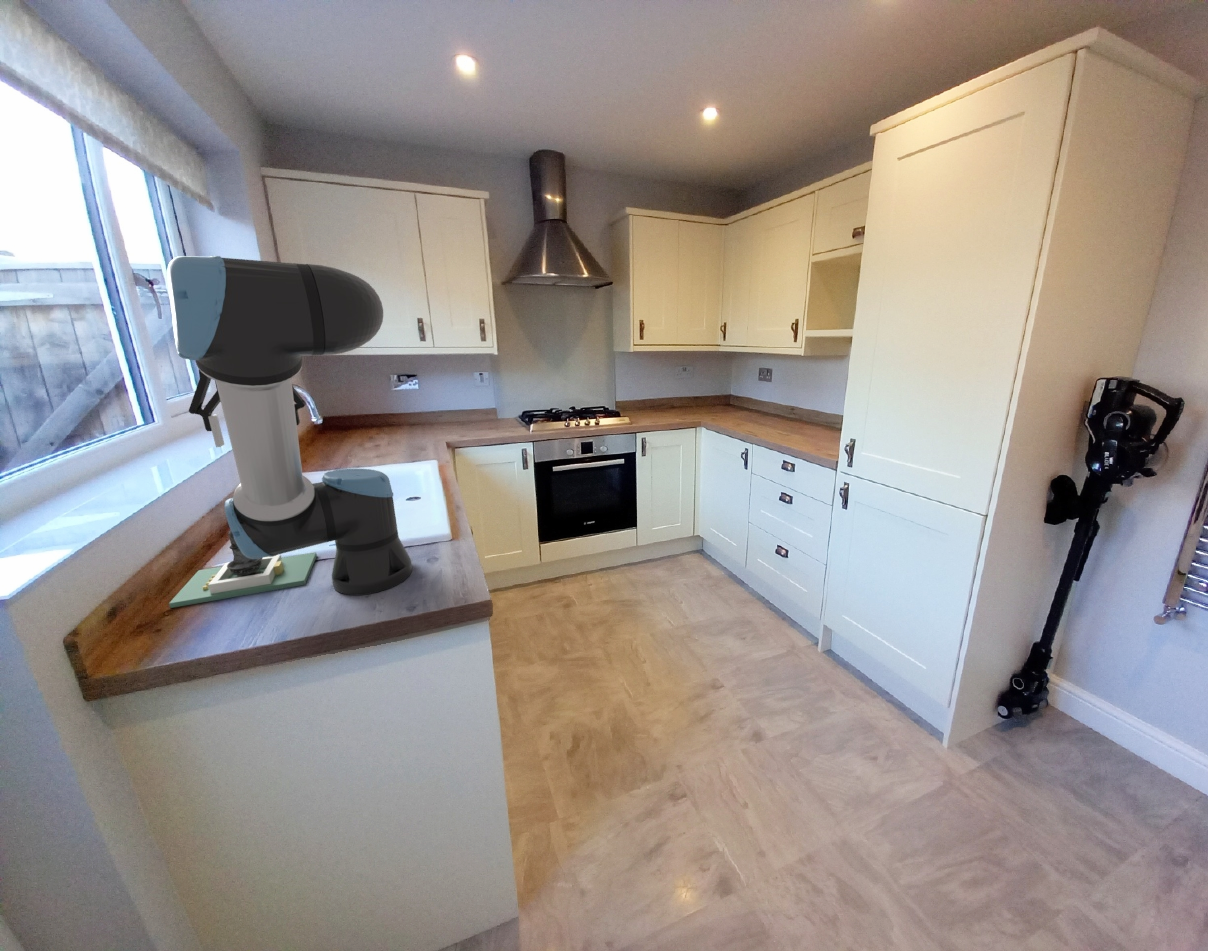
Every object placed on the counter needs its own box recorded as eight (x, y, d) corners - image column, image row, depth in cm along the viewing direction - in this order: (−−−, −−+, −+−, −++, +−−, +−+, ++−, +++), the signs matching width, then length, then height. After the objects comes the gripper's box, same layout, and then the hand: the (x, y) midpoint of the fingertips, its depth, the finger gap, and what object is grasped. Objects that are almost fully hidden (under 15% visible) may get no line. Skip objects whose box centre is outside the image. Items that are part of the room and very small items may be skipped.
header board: (316, 556, 108) (314, 544, 107) (305, 584, 95) (302, 571, 94) (199, 574, 100) (196, 561, 99) (170, 608, 87) (165, 594, 86)
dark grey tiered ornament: (272, 570, 99) (260, 518, 96) (253, 584, 94) (239, 529, 90) (244, 570, 99) (231, 518, 96) (223, 584, 93) (208, 530, 90)
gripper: (308, 341, 103) (325, 434, 110) (165, 342, 94) (193, 444, 100) (302, 342, 97) (321, 440, 103) (148, 343, 87) (179, 452, 93)
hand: (258, 442), depth 102 cm, fingers open, 13 cm apart
